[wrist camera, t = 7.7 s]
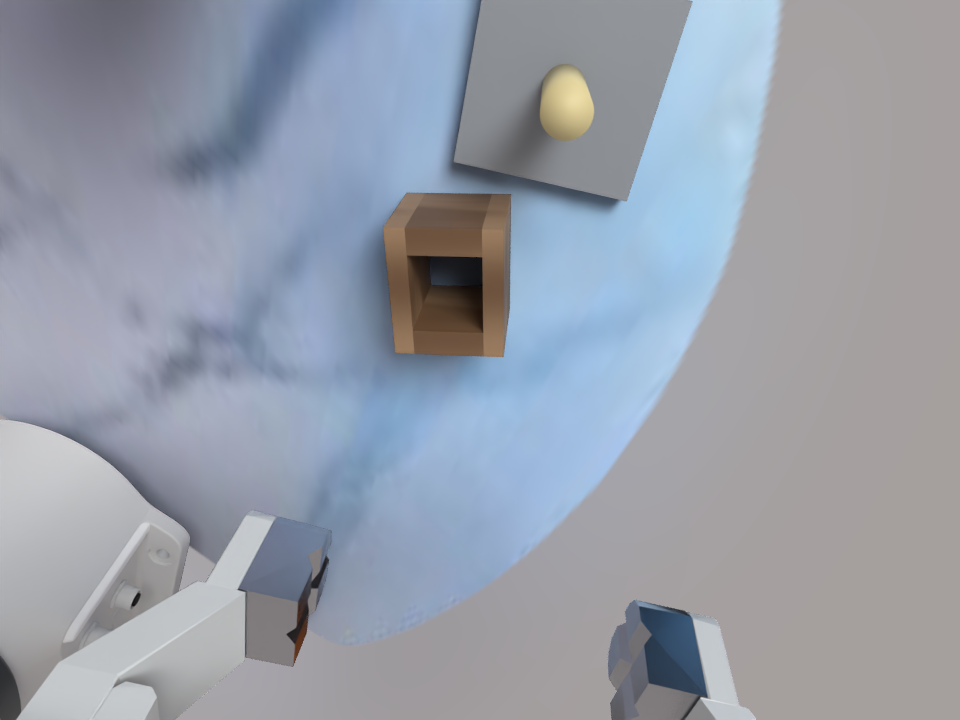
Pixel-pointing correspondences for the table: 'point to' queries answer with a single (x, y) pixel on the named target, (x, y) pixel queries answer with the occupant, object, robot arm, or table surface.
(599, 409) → the table surface
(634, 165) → the post stand
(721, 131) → the table surface
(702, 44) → the table surface
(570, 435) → the table surface
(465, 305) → the collar
